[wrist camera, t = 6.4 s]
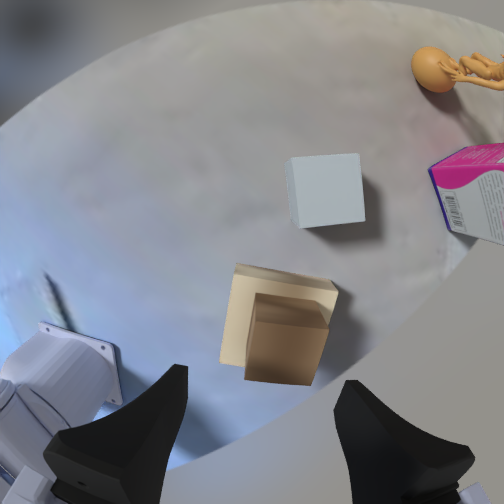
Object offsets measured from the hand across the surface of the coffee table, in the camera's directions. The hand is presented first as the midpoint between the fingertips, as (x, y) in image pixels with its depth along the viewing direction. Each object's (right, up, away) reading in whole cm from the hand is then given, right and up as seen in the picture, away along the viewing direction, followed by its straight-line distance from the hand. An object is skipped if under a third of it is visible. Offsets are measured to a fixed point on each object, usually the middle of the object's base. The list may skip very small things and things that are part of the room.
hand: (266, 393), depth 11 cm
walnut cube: (+1, +1, +7) cm, 7 cm away
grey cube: (+4, +11, +8) cm, 14 cm away
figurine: (+14, +20, +5) cm, 25 cm away
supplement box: (+17, +12, +7) cm, 22 cm away
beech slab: (+1, +2, +10) cm, 10 cm away
